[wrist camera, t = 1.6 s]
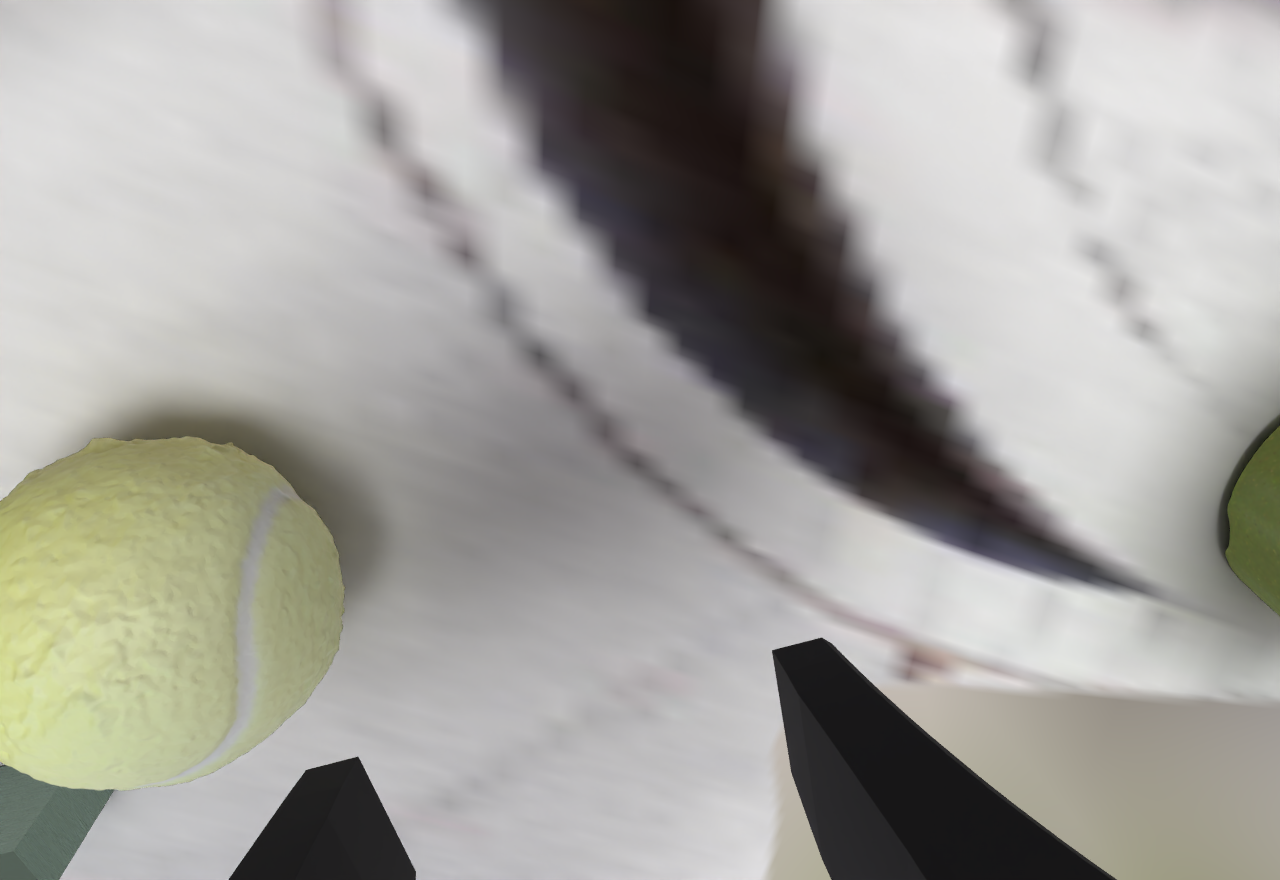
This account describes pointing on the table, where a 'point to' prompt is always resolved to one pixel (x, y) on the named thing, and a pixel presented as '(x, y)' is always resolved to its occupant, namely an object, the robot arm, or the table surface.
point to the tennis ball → (157, 612)
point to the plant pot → (1258, 523)
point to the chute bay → (42, 825)
